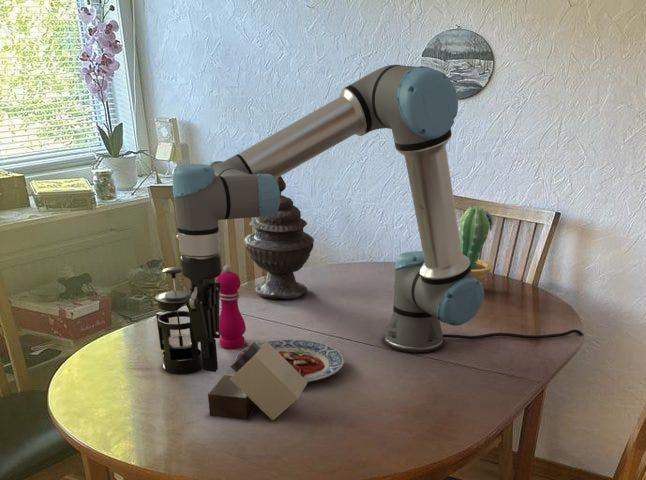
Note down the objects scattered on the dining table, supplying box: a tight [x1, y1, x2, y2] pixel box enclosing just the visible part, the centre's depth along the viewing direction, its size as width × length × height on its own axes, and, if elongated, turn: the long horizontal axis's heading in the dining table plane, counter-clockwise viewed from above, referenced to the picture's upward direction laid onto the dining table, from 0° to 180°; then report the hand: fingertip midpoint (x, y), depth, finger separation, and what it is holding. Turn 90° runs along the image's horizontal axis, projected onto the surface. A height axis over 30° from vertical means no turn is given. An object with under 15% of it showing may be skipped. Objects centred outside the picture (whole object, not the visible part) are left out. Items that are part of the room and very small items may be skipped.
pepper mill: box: [215, 264, 247, 350], centre depth 174 cm, size 7×7×20 cm
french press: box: [154, 267, 203, 375], centre depth 160 cm, size 12×9×23 cm
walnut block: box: [207, 374, 258, 421], centre depth 148 cm, size 8×10×5 cm
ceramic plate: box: [234, 339, 345, 383], centre depth 167 cm, size 26×26×3 cm
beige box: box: [229, 340, 309, 421], centre depth 144 cm, size 15×8×15 cm, turn 80°
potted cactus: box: [458, 205, 494, 284], centre depth 218 cm, size 15×15×25 cm
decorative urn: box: [244, 176, 315, 300], centre depth 206 cm, size 20×20×35 cm
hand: (210, 369), depth 145 cm, fingers closed
